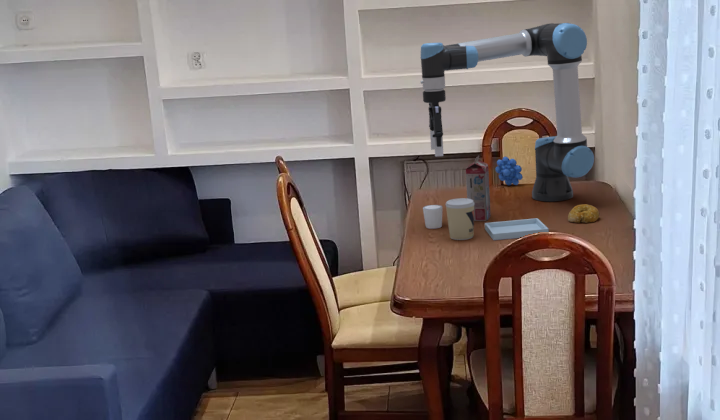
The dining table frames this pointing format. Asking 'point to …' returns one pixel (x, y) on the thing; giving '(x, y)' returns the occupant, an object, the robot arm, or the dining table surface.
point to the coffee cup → (460, 218)
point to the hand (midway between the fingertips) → (437, 152)
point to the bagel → (583, 214)
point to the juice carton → (479, 189)
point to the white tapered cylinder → (433, 216)
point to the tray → (514, 228)
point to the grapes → (509, 171)
